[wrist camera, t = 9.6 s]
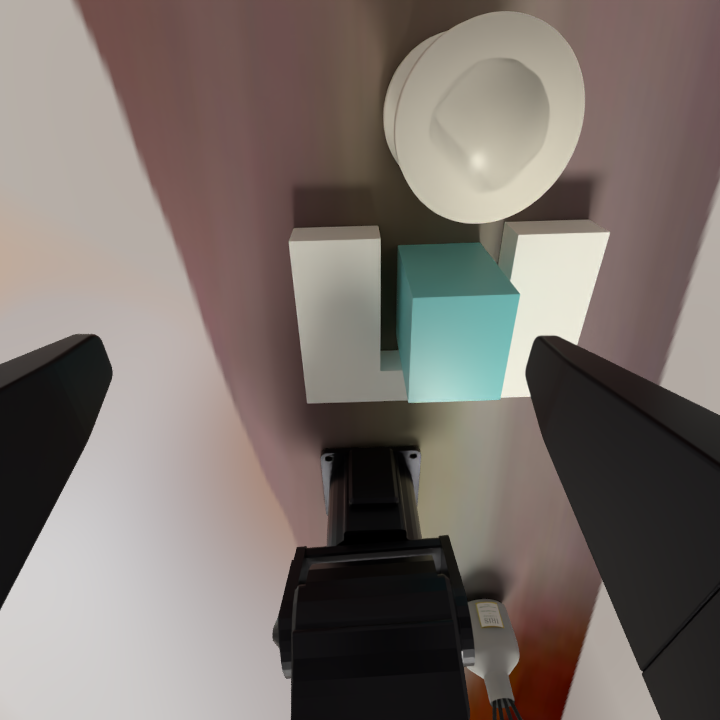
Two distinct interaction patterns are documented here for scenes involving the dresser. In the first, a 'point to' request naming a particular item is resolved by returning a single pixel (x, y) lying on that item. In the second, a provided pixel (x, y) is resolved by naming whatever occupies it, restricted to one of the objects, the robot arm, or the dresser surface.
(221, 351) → the dresser surface
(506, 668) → the reed diffuser
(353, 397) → the notched board
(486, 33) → the bobbin
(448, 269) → the teal rectangular block
